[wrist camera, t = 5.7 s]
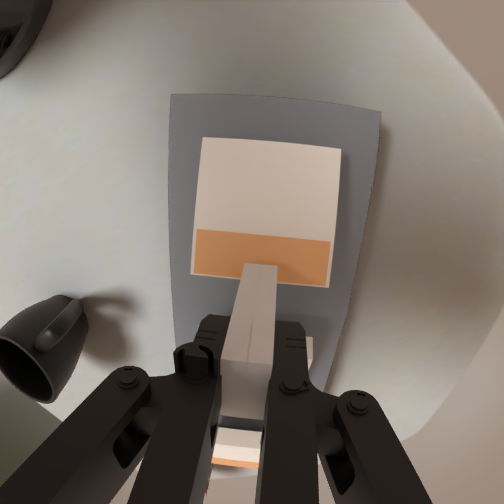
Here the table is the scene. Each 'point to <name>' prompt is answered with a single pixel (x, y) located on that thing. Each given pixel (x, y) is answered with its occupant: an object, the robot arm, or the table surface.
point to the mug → (43, 347)
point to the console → (347, 221)
